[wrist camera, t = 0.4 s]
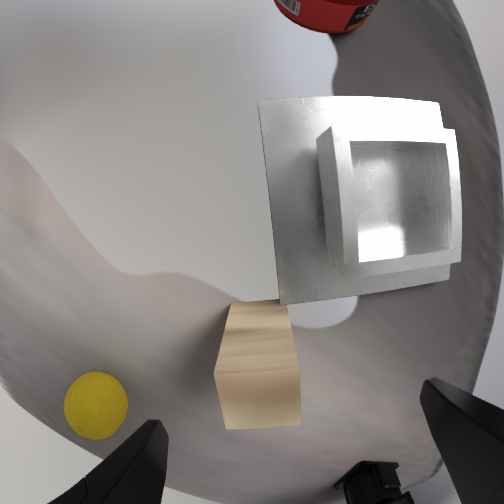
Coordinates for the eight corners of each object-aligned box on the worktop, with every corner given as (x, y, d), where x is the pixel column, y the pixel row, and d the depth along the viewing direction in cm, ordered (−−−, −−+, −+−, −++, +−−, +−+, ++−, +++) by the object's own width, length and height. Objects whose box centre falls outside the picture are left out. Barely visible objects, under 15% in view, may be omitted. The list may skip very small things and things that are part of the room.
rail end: (288, 344, 22) (300, 425, 13) (237, 348, 22) (226, 429, 14) (285, 298, 21) (299, 367, 13) (231, 303, 22) (213, 373, 13)
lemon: (146, 403, 24) (118, 461, 16) (101, 398, 24) (67, 448, 17) (129, 356, 23) (89, 413, 15) (82, 354, 23) (38, 401, 15)
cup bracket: (441, 275, 21) (488, 301, 14) (279, 298, 21) (286, 342, 15) (430, 106, 18) (478, 86, 11) (257, 105, 18) (256, 70, 12)
